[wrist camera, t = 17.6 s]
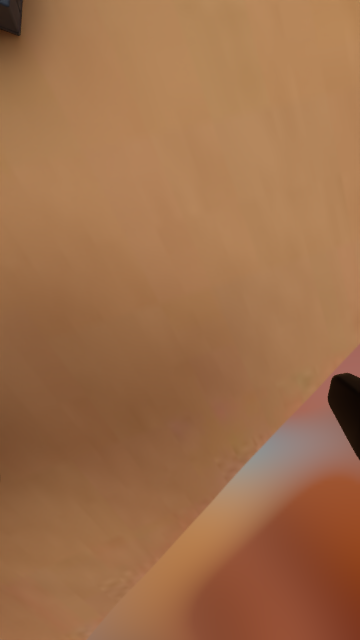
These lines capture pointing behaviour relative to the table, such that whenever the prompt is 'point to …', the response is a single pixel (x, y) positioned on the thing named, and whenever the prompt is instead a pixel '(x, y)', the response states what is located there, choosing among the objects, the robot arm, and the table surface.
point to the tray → (11, 16)
